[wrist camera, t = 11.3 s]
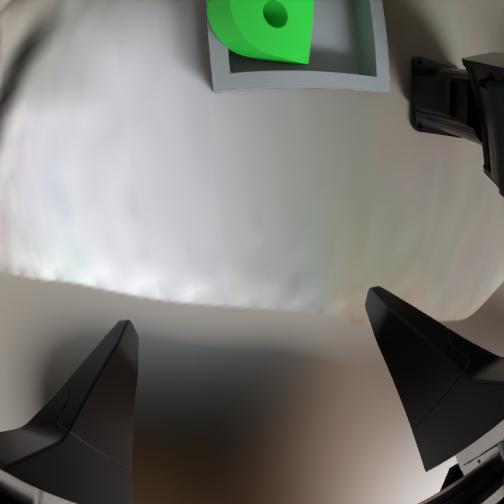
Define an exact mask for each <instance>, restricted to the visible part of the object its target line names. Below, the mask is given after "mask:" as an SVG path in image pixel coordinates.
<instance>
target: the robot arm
mask: <svg viewBox="0 0 504 504" xmlns="http://www.w3.org/2000/svg"><path fill="white" fill-rule="evenodd" d="M417 60H418V61H419V64H418V63H417ZM462 62H463V65H464V66H465V67H466V70H465V69H454V68H451V67H449V66H446V65H443V64H440V63H437V62H434V61H431V60H428V59H425V58H422V57H413V59H412V70H413V128H414V130H416V131H419V132H426V133H433V134H440V135H447V136H453V137H458V138H465V139H468V140H470V141H473V142H476V143H478V144H481V145H482V147H483V156H484V165H483V168H484V173H485V174H486V175H487V176H488V177H489V178H490V179H491V180H492V181H493V182H494V183H495V184H496V185H497V187H498V188H499V193H500V194H501V195H502V196H503V197H504V53H487V54H481V55H476V56H471V57H466V58H462ZM418 124H419V127H418ZM365 308H366V311H367V314H368V317H369V320H370V323H371V326H372V329H373V332H374V336H375V338H376V341H377V344H378V346H379V348H380V351H381V353H382V355H383V358H384V360H385V362H386V364H387V367H388V369H389V372H390V374H391V377H392V379H393V381H394V384H395V386H396V389H397V391H398V394H399V396H400V399H401V402H402V404H403V407H404V409H405V412H406V415H407V418H408V420H409V423H410V426H411V428H412V432H413V435H414V438H415V441H416V444H417V447H418V450H419V453H420V456H421V459H422V462H423V465H424V469H425V471H426V472H427V471H429V470H431V469H433V468H434V467H436V466H438V465H440V464H441V463H443V462H444V461H446V460H448V459H450V458H451V457H453V456H456V459H457V461H458V463H457V464H455V465H454V466H452V467H451V468H449V471H448V473H447V476H446V478H445V481H444V483H443V485H442V488H441V490H440V492H438V493H437V494H435V495H433V496H431V497H430V498H428V499H426V500H424V501H423V502H420V503H418V504H504V357H500V356H497V355H495V354H493V353H491V352H489V351H487V350H486V349H484V348H482V347H480V346H478V345H476V344H474V343H472V342H471V341H469V340H467V339H465V338H463V337H462V336H460V335H459V334H457V333H455V332H454V331H452V330H451V329H449V328H447V327H446V326H444V325H443V324H441V323H439V322H438V321H436V320H435V319H433V318H431V317H430V316H428V315H427V314H425V313H423V312H422V311H420V310H419V309H417V308H415V307H414V306H412V305H410V304H409V303H407V302H405V301H404V300H402V299H400V298H399V297H397V296H395V295H394V294H392V293H390V292H389V291H387V290H385V289H384V288H382V287H380V286H376V287H371V288H370V289H369V290H368V294H367V299H366V303H365ZM138 342H139V339H138V334H137V332H136V330H135V328H134V326H133V324H132V323H131V321H130V320H120V321H118V322H117V324H116V325H115V326H114V327H113V328H112V329H111V330H110V331H109V333H108V334H107V335H106V336H105V337H104V338H103V339H102V340H101V342H99V344H98V345H97V346H96V347H95V348H94V349H93V351H92V352H91V353H90V354H89V355H88V356H87V357H86V358H85V360H84V361H83V362H82V363H81V364H80V365H79V367H78V368H77V369H76V370H75V371H74V372H73V374H72V375H71V376H70V377H69V378H68V380H67V381H66V382H65V383H64V384H63V385H62V387H61V388H60V389H59V390H58V391H57V392H56V394H55V395H54V396H53V397H52V398H51V399H50V400H49V401H48V403H46V404H45V406H44V407H43V408H42V409H41V410H40V411H39V412H38V413H37V414H36V415H35V416H34V417H33V418H32V419H31V420H30V421H29V422H28V423H27V424H25V425H24V426H22V427H20V428H18V429H14V430H9V431H4V432H0V504H132V502H131V455H132V434H133V419H134V407H135V396H136V386H137V378H138V344H139V343H138Z"/></svg>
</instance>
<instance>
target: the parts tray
mask: <svg viewBox="0 0 504 504" xmlns="http://www.w3.org/2000/svg"><path fill="white" fill-rule="evenodd" d="M205 4H206V17H207V29H208V40H209V51H210V62H211V73H212V83H213V92H214V93H219V92H228V91H238V90H251V89H269V88H326V89H343V90H356V91H366V92H379V93H390V74H389V56H388V44H387V33H386V25H385V17H384V10H383V3H382V0H314V10H313V22H312V33H311V44H310V54H309V64H308V65H283V64H279V63H275V62H270V61H266V60H261V59H256V58H251V57H246V56H242V55H240V54H237V53H235V52H233V51H232V50H230V49H229V48H227V47H226V46H225V45H224V44H223V43H222V42H221V41H220V40H219V39H218V37H217V36H216V35H215V33H214V31H213V29H212V27H211V25H210V22H209V19H208V13H207V4H208V0H205Z"/></svg>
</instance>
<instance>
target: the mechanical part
mask: <svg viewBox="0 0 504 504" xmlns="http://www.w3.org/2000/svg"><path fill="white" fill-rule="evenodd" d="M313 10H314V0H208V4H207V13H208V19H209V22H210V25H211V27H212V29H213V31H214V33H215V35H216V36H217V37H218V39H219V40H220V41H221V42H222V43H223V44H224V45H225V46H226V47H227V48H229V49H230V50H232V51H233V52H235V53H237V54H240V55H242V56H246V57H251V58H256V59H261V60H266V61H270V62H275V63H279V64H283V65H308V64H309V54H310V44H311V33H312V22H313Z"/></svg>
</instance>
